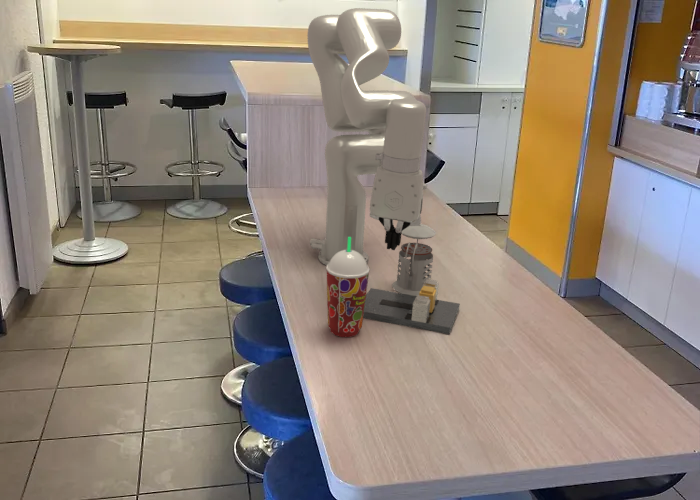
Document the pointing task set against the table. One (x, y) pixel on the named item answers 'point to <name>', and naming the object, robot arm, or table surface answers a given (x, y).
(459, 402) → the table surface
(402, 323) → the panel
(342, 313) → the smoothie
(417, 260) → the french press
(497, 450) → the table surface
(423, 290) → the orange rectangular block
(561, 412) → the table surface
